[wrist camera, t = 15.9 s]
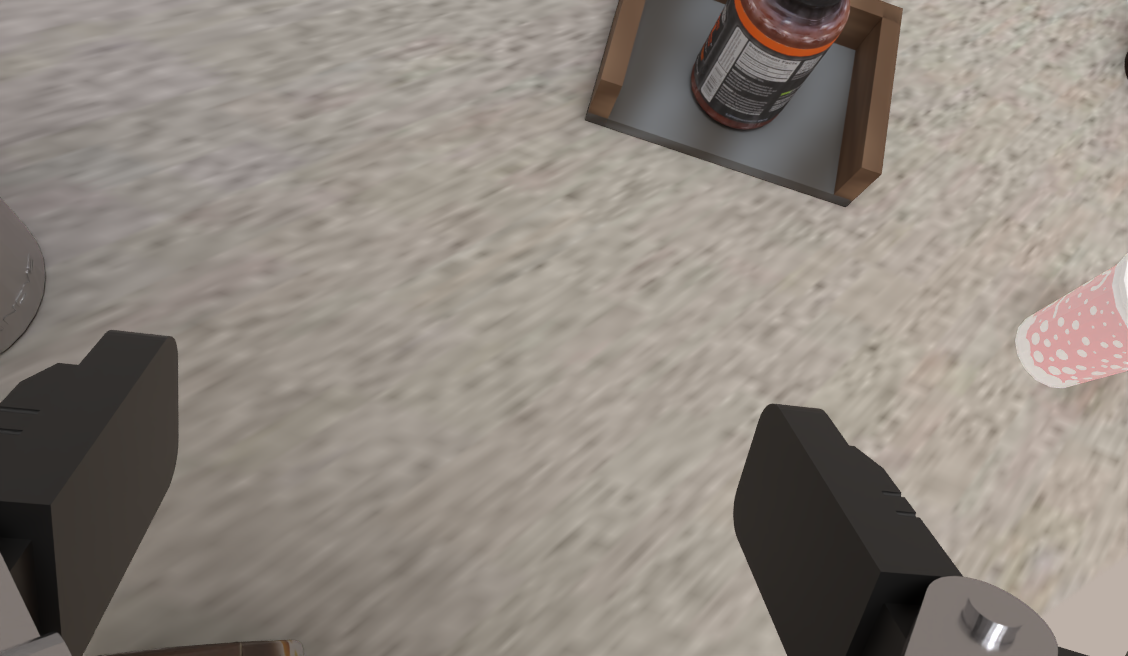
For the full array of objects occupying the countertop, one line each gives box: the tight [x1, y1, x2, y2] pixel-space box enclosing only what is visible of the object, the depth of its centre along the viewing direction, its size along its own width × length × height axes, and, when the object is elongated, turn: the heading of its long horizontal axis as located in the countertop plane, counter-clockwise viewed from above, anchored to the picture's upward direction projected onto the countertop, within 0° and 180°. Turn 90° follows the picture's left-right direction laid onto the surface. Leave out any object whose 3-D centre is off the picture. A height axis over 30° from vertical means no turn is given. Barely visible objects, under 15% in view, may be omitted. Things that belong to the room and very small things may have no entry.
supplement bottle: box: [691, 0, 850, 129], centre depth 47 cm, size 6×6×11 cm
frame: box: [585, 0, 903, 207], centre depth 51 cm, size 16×12×4 cm
